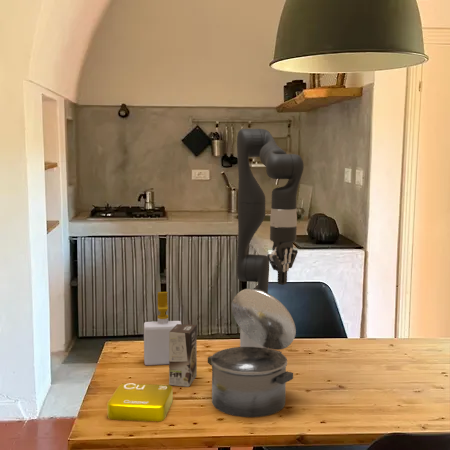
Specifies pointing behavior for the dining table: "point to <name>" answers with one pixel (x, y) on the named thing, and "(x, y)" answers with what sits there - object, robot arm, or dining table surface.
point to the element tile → (140, 402)
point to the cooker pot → (249, 381)
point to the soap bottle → (158, 335)
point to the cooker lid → (263, 319)
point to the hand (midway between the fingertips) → (282, 284)
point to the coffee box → (182, 355)
